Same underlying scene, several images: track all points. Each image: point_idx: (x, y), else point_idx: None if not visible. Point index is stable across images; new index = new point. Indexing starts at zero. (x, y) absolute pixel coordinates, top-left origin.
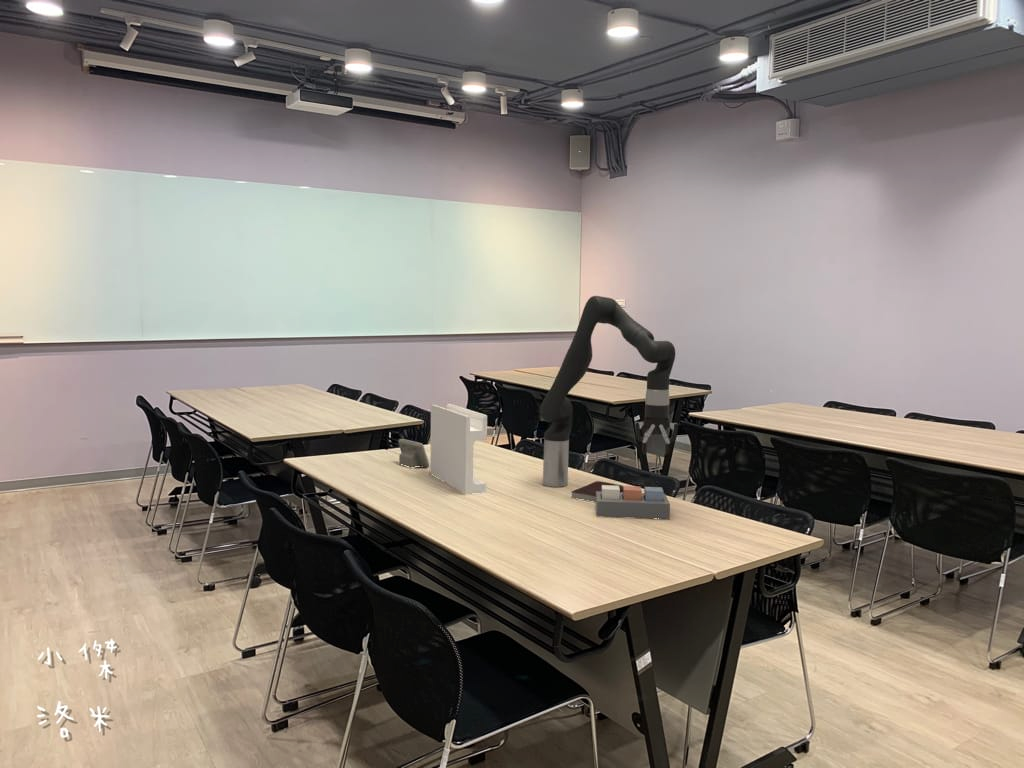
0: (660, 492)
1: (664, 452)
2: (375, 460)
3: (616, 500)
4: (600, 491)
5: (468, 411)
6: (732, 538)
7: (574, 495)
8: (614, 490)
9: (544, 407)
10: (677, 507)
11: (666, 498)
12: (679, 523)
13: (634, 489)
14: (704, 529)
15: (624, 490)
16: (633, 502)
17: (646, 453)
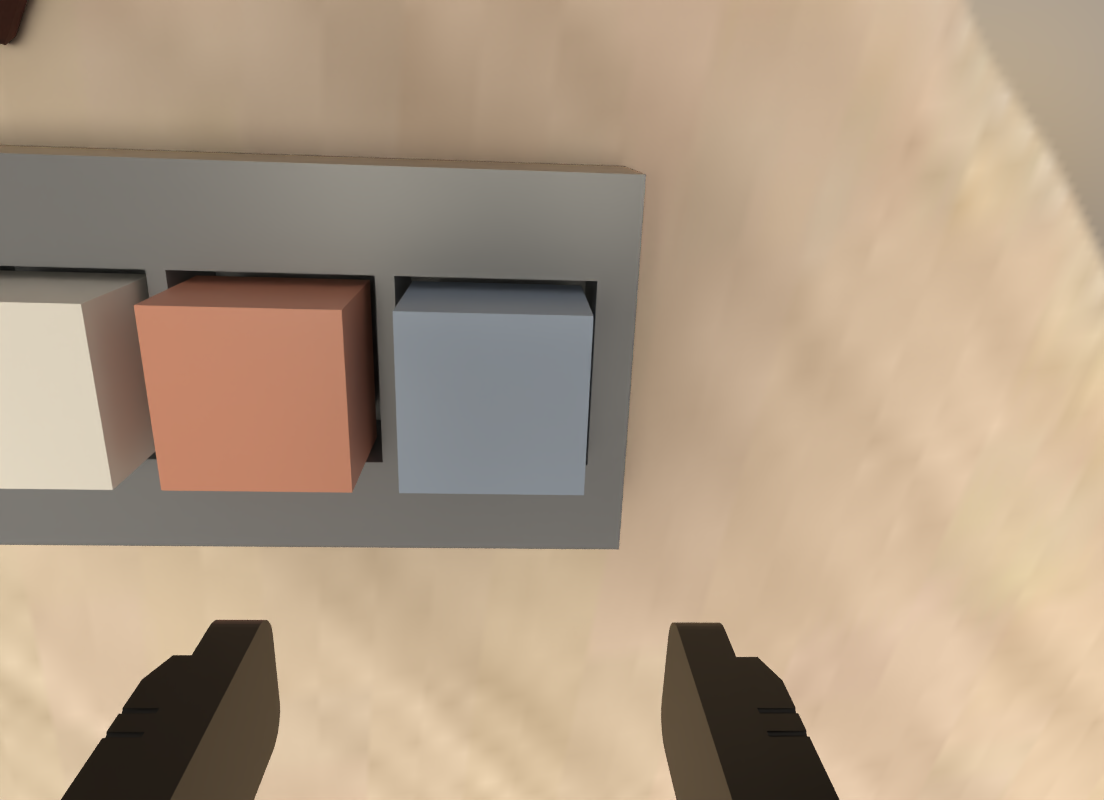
0: (550, 488)
1: (676, 662)
2: None
3: (134, 496)
4: None
5: None
6: (901, 793)
7: None
8: (59, 483)
9: None
10: (754, 98)
11: (623, 360)
12: (658, 563)
13: (274, 453)
14: (792, 664)
15: (167, 487)
16: (295, 540)
17: (272, 751)
